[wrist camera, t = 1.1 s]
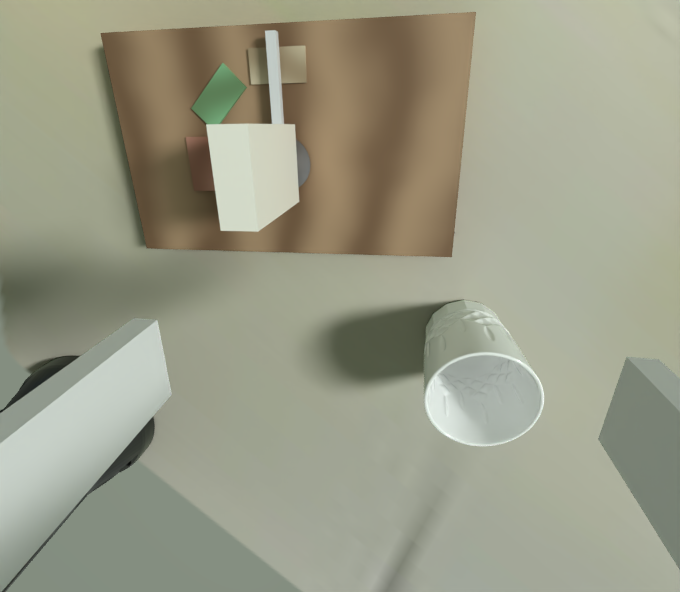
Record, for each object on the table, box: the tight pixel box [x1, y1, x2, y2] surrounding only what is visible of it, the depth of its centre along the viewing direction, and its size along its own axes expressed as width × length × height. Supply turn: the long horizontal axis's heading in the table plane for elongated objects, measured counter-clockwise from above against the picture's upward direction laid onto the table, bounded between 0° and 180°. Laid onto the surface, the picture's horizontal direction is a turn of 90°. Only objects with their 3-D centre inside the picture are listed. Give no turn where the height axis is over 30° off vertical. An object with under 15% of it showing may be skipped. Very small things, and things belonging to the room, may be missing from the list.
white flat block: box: [206, 30, 299, 232], centre depth 24 cm, size 2×11×10 cm, turn 1°
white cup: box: [423, 300, 544, 446], centre depth 32 cm, size 8×8×10 cm
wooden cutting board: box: [101, 12, 476, 257], centre depth 31 cm, size 26×16×3 cm, turn 91°
